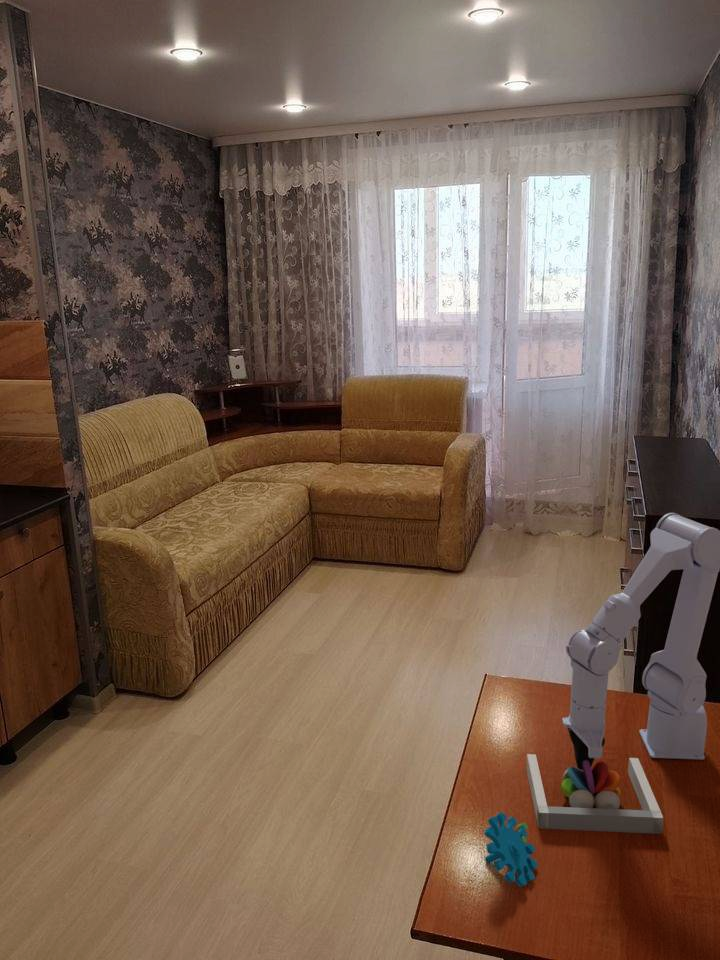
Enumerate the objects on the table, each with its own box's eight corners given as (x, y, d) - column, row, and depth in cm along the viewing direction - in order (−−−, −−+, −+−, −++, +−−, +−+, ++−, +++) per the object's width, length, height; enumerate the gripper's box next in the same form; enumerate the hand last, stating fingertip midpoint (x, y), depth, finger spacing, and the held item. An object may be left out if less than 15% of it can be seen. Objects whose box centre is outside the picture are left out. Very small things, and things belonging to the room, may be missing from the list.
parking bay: (636, 772, 131) (638, 758, 130) (661, 833, 117) (663, 817, 116) (526, 768, 132) (527, 754, 131) (538, 828, 118) (539, 812, 118)
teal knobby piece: (523, 898, 104) (481, 831, 106) (493, 910, 107) (452, 845, 109) (551, 856, 113) (512, 796, 115) (522, 869, 116) (485, 810, 118)
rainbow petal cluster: (626, 820, 120) (630, 781, 118) (564, 817, 121) (567, 779, 119) (613, 784, 128) (617, 748, 126) (556, 782, 129) (558, 746, 127)
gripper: (556, 675, 133) (552, 740, 137) (572, 723, 119) (567, 795, 123) (597, 676, 133) (592, 741, 137) (617, 725, 119) (611, 796, 123)
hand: (583, 767), depth 130 cm, fingers closed
